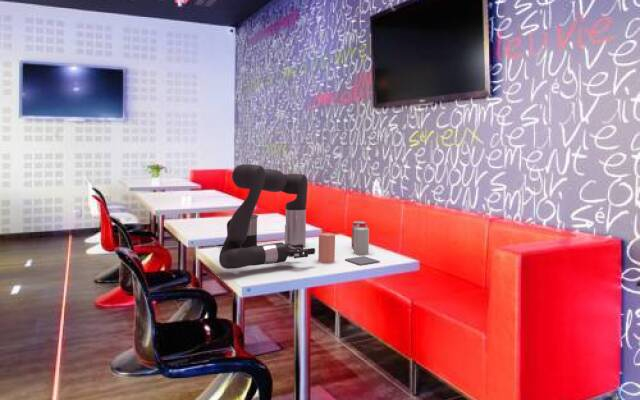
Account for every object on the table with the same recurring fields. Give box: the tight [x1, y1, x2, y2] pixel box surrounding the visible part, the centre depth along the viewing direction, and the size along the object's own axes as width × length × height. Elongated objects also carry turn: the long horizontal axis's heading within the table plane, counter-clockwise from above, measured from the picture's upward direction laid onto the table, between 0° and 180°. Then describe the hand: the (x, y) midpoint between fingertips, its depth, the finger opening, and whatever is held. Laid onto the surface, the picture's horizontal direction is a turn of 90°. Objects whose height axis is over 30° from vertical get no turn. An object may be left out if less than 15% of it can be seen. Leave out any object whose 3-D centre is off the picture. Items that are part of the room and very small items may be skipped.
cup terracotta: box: [318, 232, 336, 264], centre depth 201 cm, size 6×6×11 cm
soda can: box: [351, 220, 368, 249], centre depth 227 cm, size 7×7×12 cm
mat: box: [344, 255, 381, 267], centre depth 202 cm, size 10×10×1 cm
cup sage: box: [353, 227, 370, 256], centre depth 216 cm, size 6×6×11 cm
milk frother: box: [226, 214, 259, 248], centre depth 221 cm, size 14×16×15 cm
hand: (308, 248), depth 197 cm, fingers open, 8 cm apart
